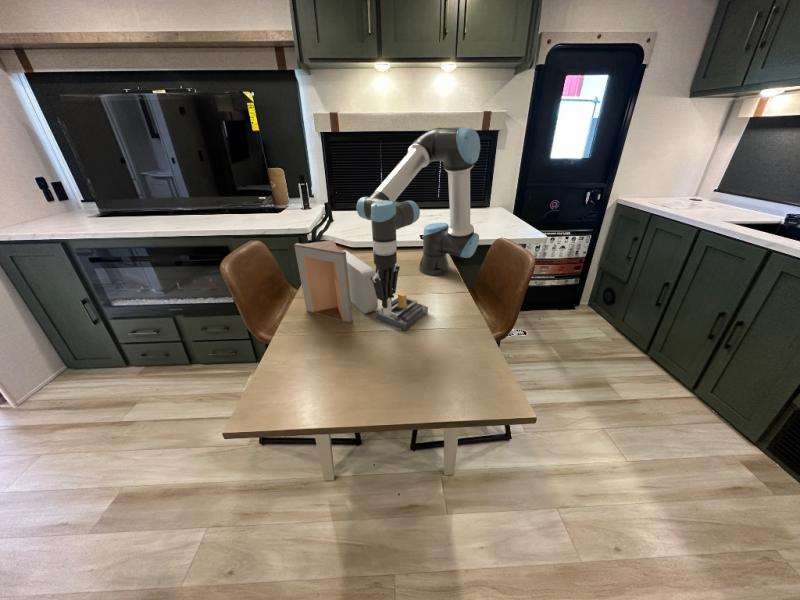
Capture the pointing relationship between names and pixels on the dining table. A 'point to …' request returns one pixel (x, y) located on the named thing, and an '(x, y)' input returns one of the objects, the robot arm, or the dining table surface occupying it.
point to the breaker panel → (396, 316)
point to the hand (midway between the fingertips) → (387, 313)
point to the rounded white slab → (361, 284)
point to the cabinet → (325, 279)
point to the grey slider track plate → (411, 312)
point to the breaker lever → (402, 301)
